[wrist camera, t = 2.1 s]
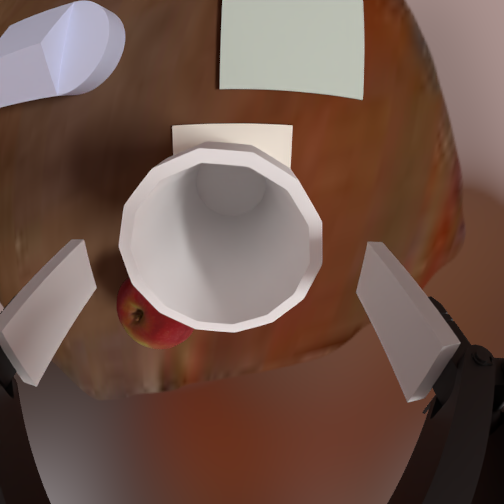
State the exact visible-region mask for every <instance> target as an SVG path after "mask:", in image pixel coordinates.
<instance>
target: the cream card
mask: <svg viewBox="0 0 504 504" xmlns="http://www.w3.org/2000/svg"><path fill="white" fill-rule="evenodd" d="M292 126H293V125H278V124H239V123H231V124H193V125H175V126H172V136H173V155H175V154H178V153H180V152H182V151H185V150H187V149H189V148H192V147H194V146H196V145H199V144H201V143H204V142H206V141H209V142H224V143H236V144H247V145H253V146H255V147H256V148H258V149H260V150H261V151H263V152H265V153H266V154H268V155H270V156H271V157H273V158H274V159H276V160H278V161H279V162H281V163H282V164H284V165H286V166H287V167H289V168H290V165H291V147H292Z"/></svg>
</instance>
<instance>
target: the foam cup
mask: <svg viewBox="0 0 504 504" xmlns="http://www.w3.org/2000/svg"><path fill="white" fill-rule="evenodd" d="M119 249H120V252H121V255H122V258H123V261H124V264H125V266H126V269H127V272H128V275H129V277H130V280H131V283H132V284H133V286H134V287H135V288H136V289H137V290H138V291H139V292H140V293H141V294H142V295H143V296H144V297H145V298H146V299H147V300H148V301H149V302H150V303H151V304H152V305H153V306H154V308H155V309H156V310H157V311H158V312H160V313H162V314H164V315H166V316H168V317H170V318H172V319H174V320H176V321H179V322H181V323H183V324H185V325H187V326H190V327H192V328H194V329H200V330H211V331H222V332H238V331H242V330H246V329H250V328H253V327H257V326H261V325H264V324H268V323H272V322H273V321H275V320H276V319H278V318H279V317H280V316H282V315H283V314H284V313H286V312H287V311H288V310H290V309H291V308H292V307H294V306H295V305H296V304H298V303H299V302H300V301H301V300H303V299H304V297H305V295H306V294H307V292H308V290H309V288H310V286H311V284H312V282H313V280H314V279H315V277H316V275H317V273H318V271H319V269H320V267H321V265H322V221H321V219H320V217H319V215H318V214H317V212H316V210H315V208H314V206H313V205H312V203H311V201H310V199H309V198H308V196H307V194H306V192H305V191H304V189H303V187H302V186H301V184H300V182H299V180H298V179H297V178H296V176H295V175H294V173H293V172H292V170H291V169H290V168H289V167H287V166H286V165H284V164H282V163H281V162H279V161H278V160H276V159H274V158H273V157H271V156H270V155H268V154H266V153H265V152H263V151H261V150H260V149H258V148H256V147H255V146H253V145H247V144H236V143H224V142H209V141H206V142H204V143H201V144H199V145H196V146H194V147H192V148H189V149H187V150H185V151H182V152H180V153H178V154H175V155H173V156H171V157H168V158H166V159H165V160H163V161H162V162H161V163H159V164H158V165H156V166H155V167H153V168H152V169H151V170H150V172H149V173H148V174H147V175H146V177H145V178H144V179H143V180H142V182H141V183H140V184H139V186H138V187H137V188H136V190H135V191H134V192H133V194H132V195H131V196H130V198H129V199H128V201H127V202H126V203H125V205H124V209H123V216H122V223H121V230H120V238H119Z"/></svg>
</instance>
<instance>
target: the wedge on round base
mask: <svg viewBox="0 0 504 504" xmlns="http://www.w3.org/2000/svg"><path fill="white" fill-rule="evenodd" d="M124 44H125V30H124V26H123V24H122V22H121V20H120V19H119V17H118V16H116V15H115V14H114V13H112V12H111V11H109V10H107V9H105V8H104V7H102V6H100V5H98V4H96V3H94V2H91V1H77V2H73V3H69V4H66V5H63V6H59V7H56V8H53V9H50V10H47V11H45V12H42V13H39V14H37V15H34V16H31V17H29V18H26V19H24V20H22V21H19V22H17V23H15V24H13V25H10V27H9V28H8V29H7V30H6V31H5V33H4V34H3V35H2V36H1V38H0V108H1V107H5V106H9V105H13V104H17V103H22V102H26V101H31V100H36V99H41V98H47V97H53V96H64V95H79V94H84V93H87V92H89V91H91V90H93V89H95V88H96V87H98V86H99V85H100V84H101V83H103V82H104V81H105V80H106V79H107V78H108V77H109V76H110V74H111V73H112V72H113V70H114V69H115V67H116V66H117V64H118V62H119V60H120V58H121V56H122V53H123V49H124Z"/></svg>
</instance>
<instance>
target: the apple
mask: <svg viewBox="0 0 504 504" xmlns="http://www.w3.org/2000/svg"><path fill="white" fill-rule="evenodd" d="M117 313H118V317H119V320H120V322H121V324H122V326H123V327H124V329H125V330H126V332H127V333H128V335H129V336H130V337H131V338H132V339H133V340H135V341H136V342H138V343H139V344H141V345H143V346H146V347H149V348H153V349H167V348H171V347H173V346H176V345H178V344H180V343H182V342H183V341H185V340H186V339H187V338H188V337H189V336H190V335H191V334H192V332H193V330H194V328H192V327H190V326H187V325H185V324H183V323H181V322H179V321H176V320H174V319H172V318H170V317H168V316H166V315H164V314H162V313H160V312H158V311H157V310H156V309H155V308H154V306H153V305H152V304H151V303H150V302H149V301H148V300H147V299H146V298H145V297H144V296H143V295H142V294H141V293H140V292H139V291H138V290H137V289H136V288H135V287H134V286H133V284H132V283H131V280H130V277H129V278H127V279H126V280H125V281H124V282H123V284H122V285H121V287H120V289H119V292H118V296H117Z"/></svg>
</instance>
